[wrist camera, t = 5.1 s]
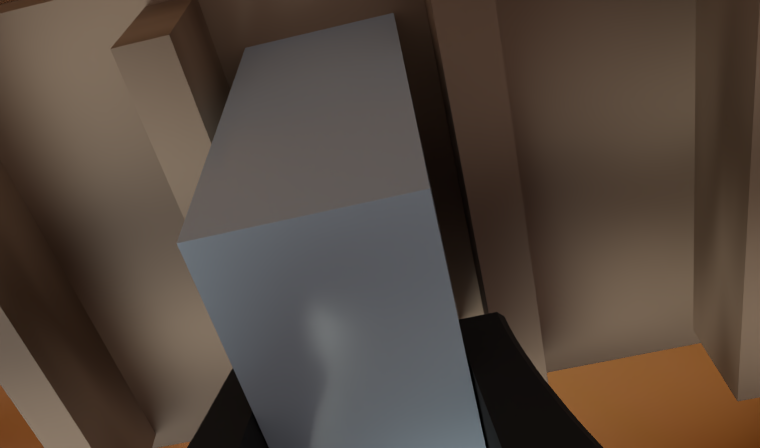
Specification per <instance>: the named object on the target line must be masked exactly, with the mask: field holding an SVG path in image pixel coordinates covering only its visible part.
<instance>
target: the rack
mask: <svg viewBox="0 0 760 448" xmlns="http://www.w3.org/2000/svg"><path fill="white" fill-rule="evenodd" d="M390 13H394V17H395V21H396V26H397V31H398V35H399V40H400V45H401V49H402V54H403V59H404V63H405V68H406V73H407V77H408V82H409V87H410V91H411V96H412V101H413V105H414V110H415V115H416V119H417V124H418V129H419V133H420V138H421V143H422V147H423V152H424V157H425V161H426V166H427V170H428V175H429V180H430V184H431V189H432V194H433V198H434V203H435V208H436V212H437V217H438V222H439V226H440V231H441V236H442V240H443V245H444V250H445V254H446V259H447V264H448V268H449V273H450V278H451V282H452V287H453V292H454V296H455V301H456V306H457V310H458V315H459V319H464V318H469V317H474V316H479V315H484V314H489V313H493V312H498V313H500V314H501V315H503V316H505V318H506V321H507V323H508V325H509V327H510V328H511V330H512V332H513V334H514V336H515V337H516V339H517V341H518V342H519V344H520V345H521V347H522V348H523V350H524V352H525V353H526V354H527V356H528V357H529V359H530V360H531V362H532V363H533V364H534V366H535V367H536V369H537V370H538V371H539V373H540V374H541V375H542V377H543V378H544V379H545V381H546V382H547V383H548V379H547V372H552V371H557V370H562V369H568V368H573V367H578V366H583V365H588V364H594V363H599V362H604V361H609V360H614V359H619V358H625V357H630V356H635V355H640V354H645V353H651V352H656V351H661V350H666V349H671V348H676V347H682V346H687V345H692V344H697V343H702V345H703V347H704V348H705V350H706V351H707V353H708V355H709V356H710V358H711V359H712V361H713V363H714V364H715V366H716V367H717V369H718V371H719V372H720V374H721V375H722V377H723V379H724V380H725V382H726V384H727V385H728V387H729V388H730V390H731V392H732V393H733V395H734V396H735V398H736V400H737V401H742V400H747V399H752V398H758V397H760V0H16V1H12V2H8V3H4V4H0V385H1V386H2V387H3V389H4V390H5V392H6V393H7V395H8V396H9V397H10V399H11V400H12V402H13V403H14V405H15V406H16V408H17V409H18V410H19V412H20V413H21V415H22V416H23V418H24V419H25V420H26V422H27V423H28V425H29V426H30V428H31V429H32V430H33V432H34V433H35V435H36V436H37V438H38V439H39V441H40V442H41V443H42V445H43V446H44V448H158V447H163V446H169V445H174V444H179V443H184V442H189V441H191V440H192V439H193V437H194V435H195V433H196V432H197V430H198V428H199V426H200V425H201V423H202V421H203V419H204V418H205V416H206V414H207V412H208V411H209V409H210V407H211V405H212V403H213V402H214V400H215V398H216V396H217V394H218V393H219V391H220V389H221V387H222V385H223V384H224V382H225V380H226V378H227V377H228V375H229V373H230V371H231V370H232V368H233V367H232V365H231V363H230V360H229V358H228V356H227V354H226V352H225V349H224V347H223V345H222V343H221V341H220V338H219V336H218V334H217V332H216V329H215V327H214V325H213V323H212V321H211V318H210V316H209V314H208V312H207V310H206V307H205V305H204V303H203V301H202V298H201V296H200V294H199V292H198V290H197V287H196V285H195V283H194V281H193V279H192V276H191V274H190V272H189V270H188V268H187V265H186V263H185V261H184V259H183V256H182V254H181V252H180V250H179V248H178V245H177V241H178V238H179V235H180V232H181V229H182V227H183V224H184V221H185V218H186V215H187V212H188V209H189V207H190V204H191V201H192V198H193V195H194V192H195V190H196V187H197V184H198V181H199V178H200V175H201V172H202V170H203V167H204V164H205V161H206V158H207V155H208V153H209V150H210V147H211V144H212V141H213V138H214V135H215V133H216V130H217V127H218V124H219V121H220V118H221V116H222V113H223V110H224V107H225V104H226V101H227V98H228V96H229V93H230V90H231V87H232V84H233V81H234V79H235V76H236V73H237V70H238V67H239V64H240V61H241V59H242V56H243V53H244V50H245V48H247V47H251V46H255V45H259V44H264V43H268V42H272V41H276V40H281V39H285V38H289V37H293V36H297V35H302V34H306V33H310V32H314V31H318V30H323V29H327V28H331V27H335V26H340V25H344V24H348V23H352V22H356V21H361V20H365V19H369V18H373V17H377V16H382V15H386V14H390Z"/></svg>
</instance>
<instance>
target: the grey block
mask: <svg viewBox="0 0 760 448" xmlns="http://www.w3.org/2000/svg"><path fill="white" fill-rule="evenodd" d="M177 245H178V248H179V250H180V252H181V254H182V256H183V259H184V261H185V263H186V265H187V268H188V270H189V272H190V274H191V276H192V279H193V281H194V283H195V285H196V287H197V290H198V292H199V294H200V296H201V298H202V301H203V303H204V305H205V307H206V310H207V312H208V314H209V316H210V318H211V321H212V323H213V325H214V327H215V329H216V332H217V334H218V336H219V338H220V341H221V343H222V345H223V347H224V349H225V352H226V354H227V356H228V358H229V360H230V363H231V365H232V367H233V369H234V371H235V374H236V376H237V378H238V380H239V383H240V385H241V387H242V389H243V391H244V394H245V396H246V398H247V400H248V402H249V405H250V407H251V409H252V411H253V414H254V416H255V418H256V420H257V422H258V425H259V427H260V429H261V431H262V433H263V436H264V438H265V440H266V442H267V444H268V447H269V448H486V445H485V440H484V436H483V431H482V426H481V422H480V417H479V412H478V408H477V403H476V399H475V394H474V389H473V385H472V380H471V375H470V371H469V366H468V361H467V357H466V352H465V347H464V343H463V338H462V333H461V328H460V323H459V315H458V310H457V306H456V301H455V296H454V292H453V287H452V282H451V278H450V273H449V268H448V264H447V259H446V254H445V250H444V245H443V240H442V236H441V231H440V226H439V222H438V217H437V212H436V208H435V203H434V198H433V194H432V189H431V184H430V180H429V175H428V170H427V166H426V161H425V157H424V152H423V147H422V143H421V138H420V133H419V129H418V124H417V119H416V115H415V110H414V105H413V101H412V96H411V91H410V87H409V82H408V77H407V73H406V68H405V63H404V59H403V54H402V49H401V45H400V40H399V35H398V31H397V26H396V21H395V17H394V13H390V14H386V15H382V16H377V17H373V18H369V19H365V20H361V21H356V22H352V23H348V24H344V25H340V26H335V27H331V28H327V29H323V30H318V31H314V32H310V33H306V34H302V35H297V36H293V37H289V38H285V39H281V40H276V41H272V42H268V43H264V44H259V45H255V46H251V47H247V48H245V50H244V53H243V56H242V59H241V61H240V64H239V67H238V70H237V73H236V76H235V79H234V81H233V84H232V87H231V90H230V93H229V96H228V98H227V101H226V104H225V107H224V110H223V113H222V116H221V118H220V121H219V124H218V127H217V130H216V133H215V135H214V138H213V141H212V144H211V147H210V150H209V153H208V155H207V158H206V161H205V164H204V167H203V170H202V172H201V175H200V178H199V181H198V184H197V187H196V190H195V192H194V195H193V198H192V201H191V204H190V207H189V209H188V212H187V215H186V218H185V221H184V224H183V227H182V229H181V232H180V235H179V238H178V241H177Z"/></svg>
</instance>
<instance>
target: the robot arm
mask: <svg viewBox="0 0 760 448" xmlns="http://www.w3.org/2000/svg"><path fill="white" fill-rule="evenodd" d="M459 323H460V328H461V333H462V338H463V343H464V347H465V352H466V357H467V361H468V366H469V371H470V375H471V380H472V385H473V389H474V394H475V399H476V403H477V408H478V412H479V417H480V422H481V426H482V431H483V436H484V440H485V445H486V448H603V447H602V446H601V445H600V444H599V443H598V442H597V440H596V439H595V438H594V437H593V436H592V435H591V434H590V433H589V432H588V431H587V430H586V429H585V427H584V426H583V425H582V424H581V423H580V422H579V421H578V420H577V418H576V417H575V416H574V415H573V414H572V413H571V411H570V410H569V409H568V408H567V407H566V405H565V404H564V403H563V402H562V400H561V399H560V398H559V397H558V396H557V394H556V393H555V392H554V391H553V389H552V388H551V387H550V386H549V384H548V383H547V382H546V381H545V379H544V378H543V377H542V375H541V374H540V373H539V371H538V370H537V369H536V367H535V366H534V364H533V363H532V362H531V360H530V359H529V357H528V356H527V354H526V353H525V352H524V350H523V348H522V347H521V345H520V344H519V342H518V341H517V339H516V337H515V336H514V334H513V332H512V330H511V328H510V327H509V325H508V323H507V321H506V318H505V316H503V315H501V314H500V313H498V312H493V313H489V314H484V315H479V316H474V317H469V318H464V319H459ZM187 448H269V447H268V444H267V442H266V440H265V438H264V436H263V433H262V431H261V429H260V427H259V425H258V422H257V420H256V418H255V416H254V414H253V411H252V409H251V407H250V405H249V402H248V400H247V398H246V396H245V394H244V391H243V389H242V387H241V385H240V383H239V380H238V378H237V376H236V374H235V371H234V369H233V368H232V370H231V371H230V373H229V375H228V377H227V378H226V380H225V382H224V384H223V385H222V387H221V389H220V391H219V393H218V394H217V396H216V398H215V400H214V402H213V403H212V405H211V407H210V409H209V411H208V412H207V414H206V416H205V418H204V419H203V421H202V423H201V425H200V426H199V428H198V430H197V432H196V433H195V435H194V437H193V439H192V440H191V442H190V444H189V445H188V447H187Z"/></svg>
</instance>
